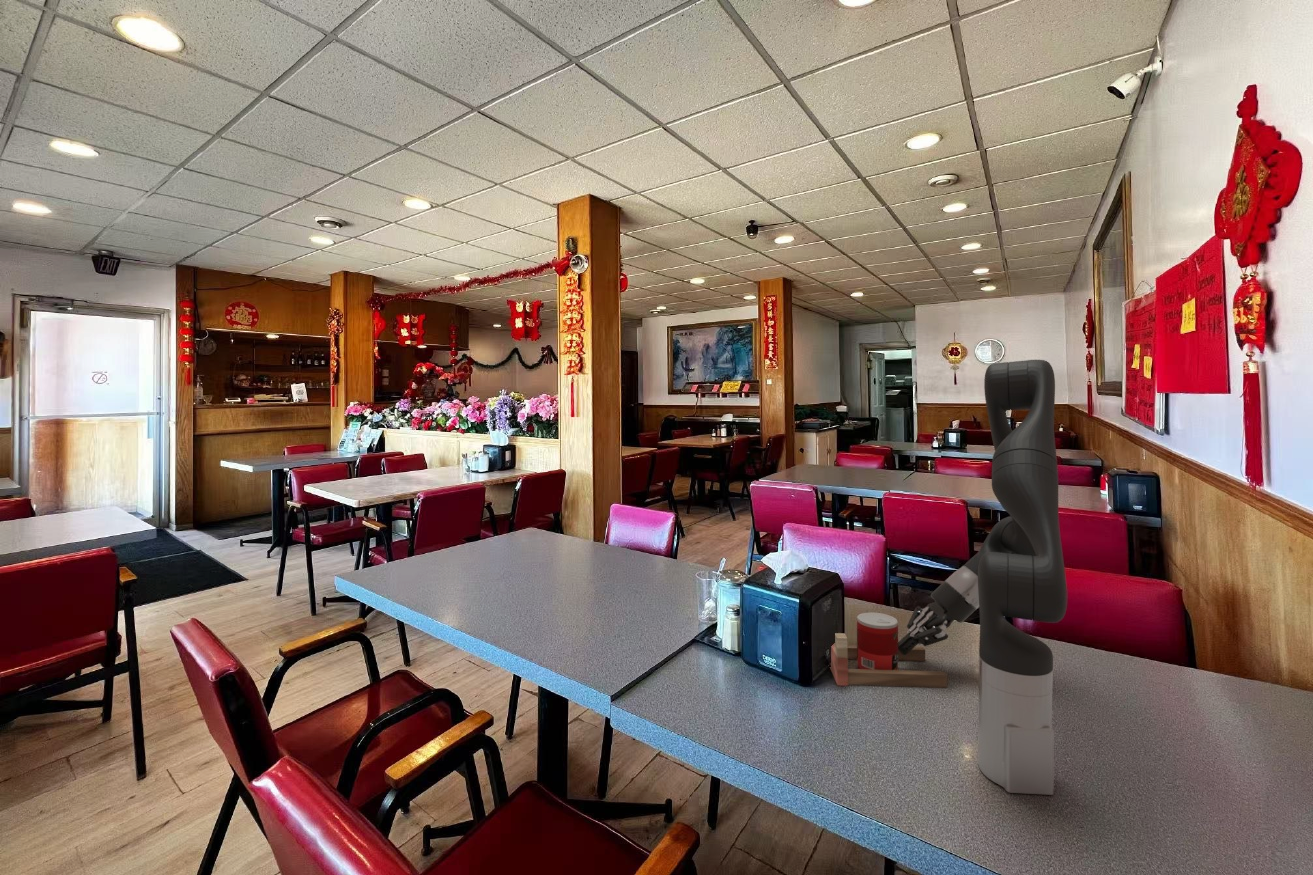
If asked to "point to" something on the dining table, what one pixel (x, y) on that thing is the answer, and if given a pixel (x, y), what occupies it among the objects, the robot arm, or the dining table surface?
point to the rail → (880, 677)
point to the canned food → (877, 641)
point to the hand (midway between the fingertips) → (899, 650)
